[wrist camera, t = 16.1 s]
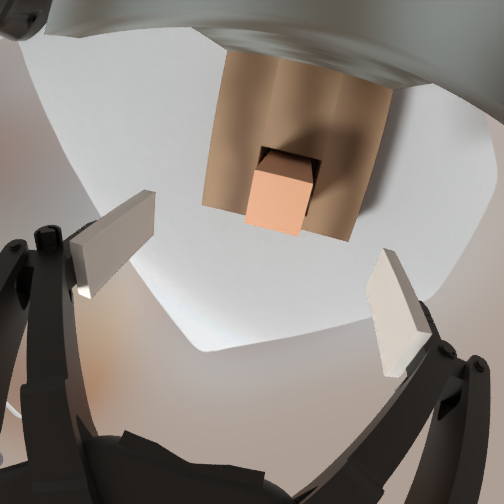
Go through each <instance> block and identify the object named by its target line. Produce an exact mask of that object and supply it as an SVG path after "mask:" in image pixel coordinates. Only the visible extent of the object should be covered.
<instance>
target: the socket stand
mask: <svg viewBox="0 0 504 504" xmlns="http://www.w3.org/2000/svg"><path fill="white" fill-rule="evenodd" d="M164 27H192V28H193V29H195V30H197V31H198V32H200V33H201V34H203V35H205V36H206V37H208V38H209V39H211V40H212V41H214V42H215V43H217V44H218V45H220V46H221V47H223V48H224V49H226V50H227V56H226V61H225V66H224V70H223V76H222V81H221V86H220V91H219V97H218V102H217V108H216V113H215V119H214V125H213V131H212V137H211V144H210V150H209V157H208V163H207V170H206V177H205V185H204V192H203V200H202V205H204V206H208V207H213V208H217V209H221V210H225V211H230V212H234V213H238V214H242V215H246V211H247V206H248V201H249V196H250V191H251V186H252V181H253V176H254V171H255V169H256V167H257V166H258V165H259V164H260V163H261V162H262V160H263V159H264V156H265V151H266V147H270V148H274V149H278V150H283V151H287V152H291V153H295V154H299V155H303V156H307V157H311V158H314V159H318V162H317V166H316V170H315V174H314V178H313V187H312V190H311V194H310V198H309V201H308V205H307V208H306V212H305V216H304V219H303V223H302V226H301V229H302V230H306V231H310V232H313V233H317V234H321V235H325V236H328V237H332V238H336V239H339V240H343V241H347V242H348V241H349V239H350V236H351V233H352V230H353V227H354V225H355V222H356V219H357V216H358V213H359V210H360V207H361V204H362V201H363V198H364V195H365V192H366V189H367V186H368V183H369V179H370V176H371V173H372V170H373V166H374V163H375V159H376V156H377V152H378V149H379V145H380V142H381V138H382V134H383V131H384V127H385V123H386V119H387V115H388V111H389V107H390V102H391V98H392V94H393V90H396V89H401V88H406V87H412V86H418V85H425V84H431V83H434V84H436V85H438V86H440V87H442V88H444V89H446V90H448V91H450V92H451V93H453V94H455V95H457V96H459V97H461V98H462V99H464V100H466V101H468V102H469V103H471V104H473V105H474V106H476V107H478V108H479V109H481V110H482V111H484V112H485V113H487V114H489V115H490V116H492V117H493V118H495V119H496V120H498V121H499V122H500V123H502V124H503V125H504V0H53V2H52V5H51V9H50V12H49V16H48V20H47V24H46V28H45V32H44V34H45V35H58V36H67V37H76V38H83V37H88V36H93V35H98V34H104V33H111V32H118V31H126V30H136V29H147V28H164Z"/></svg>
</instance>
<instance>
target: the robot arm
mask: <svg viewBox="0 0 504 504" xmlns="http://www.w3.org/2000/svg"><path fill="white" fill-rule="evenodd" d="M52 2H53V0H0V36H2V37H5V38H7V39H9V40H12V41H24V40H27V39H29V38H31V37H32V36H34V35H35V34H36V33H37V32H38V31H39V30H40V29H41V28H42V27H43V25H44V24H45V23H46V21H47V20H48V16H49V12H50V9H51V5H52ZM155 193H156V192H153V191H148V190H143V191H141V192H140V193H138V194H137V195H135V196H133V197H132V198H130V199H129V200H127V201H126V202H124V203H123V204H121V205H120V206H118V207H117V208H115V209H114V210H112V211H111V212H109V213H108V214H106V215H105V216H103V217H102V218H100V219H99V220H96V221H93V222H90V223H88V224H86V225H85V226H83V227H82V228H81V229H79V230H78V231H76V233H74V234H72V235H71V236H69V237H68V238H67V239H65V240H64V241H63V240H62V233H61V228H60V227H59V226H56V225H47V226H44V227H41V228H39V229H38V230H36V231H35V233H34V238H35V243H36V248H37V250H28V245H27V242H26V241H25V240H22V239H15V240H12V241H11V242H9V243H8V244H7V245H6V246H5V247H4V248H3V250H2V251H1V253H0V433H1V429H2V424H3V419H4V412H5V406H6V401H7V395H8V390H9V386H10V381H11V377H12V372H13V368H14V364H15V361H16V357H17V353H18V349H19V346H20V343H21V340H22V336H23V333H24V330H25V327H26V324H27V321H28V327H27V383H26V384H24V385H22V386H21V388H20V401H21V413H22V423H23V432H24V439H25V445H26V451H27V457H28V461H25V462H22V463H19V464H16V465H12V466H9V467H5V468H2V469H0V504H377V503H378V501H379V500H380V499H381V497H382V496H383V494H384V490H383V489H382V488H383V486H384V484H385V483H386V481H387V480H388V479H389V477H390V476H391V475H392V474H393V472H394V471H395V469H396V468H397V467H398V465H399V464H400V462H401V461H402V459H403V458H404V457H405V455H406V454H407V452H408V450H409V449H410V447H411V446H412V444H413V443H414V441H415V439H416V438H417V436H418V435H419V433H420V431H421V430H422V428H423V426H424V424H425V423H426V421H427V419H428V418H429V416H430V414H431V412H432V410H433V408H434V412H433V416H432V420H431V425H430V428H429V432H428V436H427V440H426V443H425V447H424V450H423V453H422V457H421V460H420V463H419V466H418V469H417V472H416V475H415V477H414V480H413V483H412V485H411V488H410V491H409V493H408V495H407V498H406V500H405V503H404V504H477V503H478V499H479V494H480V490H481V486H482V481H483V475H484V469H485V463H486V455H487V448H488V437H489V424H490V369H489V366H488V364H487V362H486V361H485V360H484V359H483V358H481V357H480V356H477V355H473V356H471V357H470V359H469V360H468V361H467V362H466V361H464V360H461V359H459V358H457V354H456V351H455V349H454V348H453V347H452V346H451V345H450V344H449V343H448V342H446V341H444V340H441V338H440V335H439V333H438V331H437V328H436V326H435V323H433V322H434V321H433V319H432V317H431V314H430V312H429V310H428V308H427V307H426V306H425V305H424V303H423V302H422V301H419V300H418V299H417V296H416V294H415V292H414V290H413V288H412V286H411V283H410V281H409V279H408V277H407V275H406V273H405V271H404V269H403V267H402V265H401V263H400V261H399V259H398V257H397V255H396V253H395V251H392V250H388V249H385V248H383V249H382V252H381V254H380V256H379V259H378V261H377V263H376V265H375V268H374V270H373V272H372V274H371V276H370V279H369V281H368V283H367V285H366V287H365V288H366V292H367V296H368V300H369V304H370V309H371V313H372V317H373V322H374V326H375V330H376V335H377V340H378V345H379V350H380V355H381V360H382V366H383V371H384V376H388V377H397V378H398V377H400V375H401V374H402V373H403V372H404V371H405V369H406V371H407V377H406V378H405V380H404V381H403V382H402V383H401V384H400V385H399V386H398V388H397V389H396V390H395V393H394V394H393V396H392V397H391V398H390V399H389V401H388V402H387V403H386V405H385V406H384V407H383V408H382V410H381V411H380V412H379V413H378V414H377V416H376V417H375V418H374V419H373V420H372V422H371V423H370V424H369V425H368V426H367V427H366V428H365V430H364V431H363V432H362V433H361V434H360V435H359V436H358V437H357V439H356V440H355V441H354V442H353V443H352V444H351V445H350V446H349V447H348V448H347V449H346V450H345V451H344V452H343V453H342V454H341V455H340V456H339V457H338V458H337V459H336V460H335V461H334V462H333V463H332V464H331V465H330V466H329V467H328V468H327V469H326V470H325V471H324V472H323V473H321V474H320V475H319V476H318V477H317V478H316V479H315V480H314V481H312V482H311V483H310V484H309V485H307V486H306V487H305V488H303V489H302V490H301V491H299V492H298V493H297V494H296V495H294V496H293V497H290V496H289V495H288V494H287V493H286V492H285V491H284V490H283V489H281V488H280V487H278V486H277V485H275V484H273V483H271V482H270V481H267V480H265V479H264V475H265V472H262V471H257V470H251V469H246V468H241V467H237V466H232V465H212V464H194V463H189V462H187V461H185V460H183V459H182V458H180V457H178V456H177V455H175V454H173V453H172V452H170V451H169V450H167V449H165V448H164V447H162V446H161V445H159V444H158V443H155V442H153V441H150V440H148V439H145V438H142V437H140V436H138V435H135V434H133V433H130V432H128V431H126V430H125V431H124V433H123V435H122V437H120V436H111V435H107V436H98V433H97V431H96V428H95V426H94V424H93V421H92V417H91V413H90V409H89V405H88V401H87V396H86V391H85V386H84V381H83V376H82V371H81V365H80V358H79V352H78V344H77V335H76V327H75V315H74V302H73V292H72V287H73V286H75V284H77V288H78V292H79V294H81V295H83V296H85V297H88V298H90V299H92V298H93V297H94V295H95V294H96V293H97V292H98V291H99V290H100V289H101V288H102V287H103V286H104V285H105V284H106V283H107V281H108V280H109V279H110V278H111V277H112V276H113V275H114V274H115V273H116V272H117V271H118V270H119V269H120V268H121V267H122V266H123V265H124V264H125V263H126V262H127V261H128V260H129V259H130V258H131V257H132V256H133V255H134V254H135V253H136V252H137V251H138V250H139V249H140V248H141V247H142V246H143V245H144V244H145V243H146V242H147V241H148V240H149V239H150V238H151V237H152V236H153V235H154V213H155ZM434 406H435V407H434ZM2 463H3V456H2V454H1V453H0V465H2Z"/></svg>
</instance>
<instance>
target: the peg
mask: <svg viewBox="0 0 504 504" xmlns="http://www.w3.org/2000/svg"><path fill="white" fill-rule="evenodd" d="M312 187H313V177H312V166H311V158H309V157H305V156H301V155H297V154H293V153H289V152H285V151H280V150H276V149H272V150H271V151H270V152H269V153H268V155H267V156H266V157H265V158H264V159H263V160H262V162H261V163H260V164H259V165H258V166H257V167H256V169H255V171H254V176H253V181H252V186H251V191H250V196H249V201H248V206H247V211H246V216H245V221H244V223H247V224H251V225H255V226H259V227H263V228H267V229H271V230H275V231H279V232H283V233H286V234H290V235H294V236H298V237H299V233H300V230H301V226H302V223H303V219H304V216H305V212H306V208H307V205H308V201H309V198H310V194H311V190H312Z"/></svg>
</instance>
